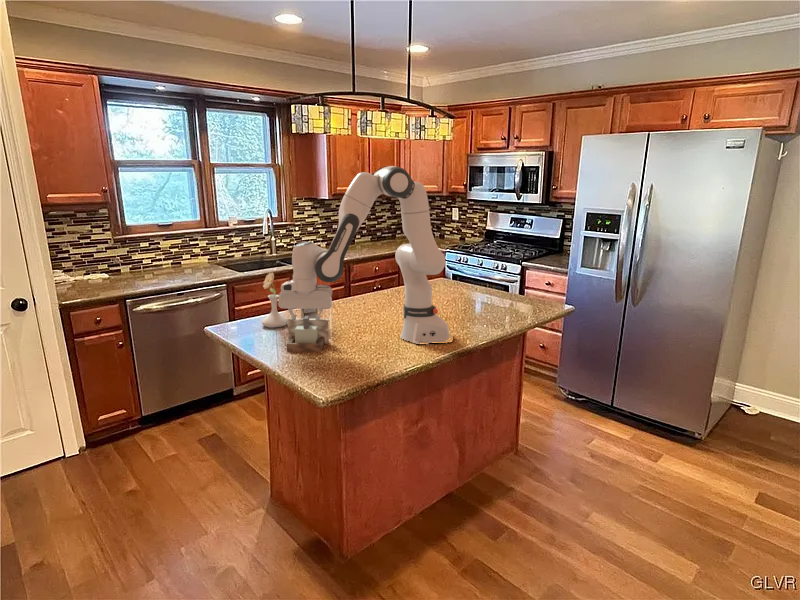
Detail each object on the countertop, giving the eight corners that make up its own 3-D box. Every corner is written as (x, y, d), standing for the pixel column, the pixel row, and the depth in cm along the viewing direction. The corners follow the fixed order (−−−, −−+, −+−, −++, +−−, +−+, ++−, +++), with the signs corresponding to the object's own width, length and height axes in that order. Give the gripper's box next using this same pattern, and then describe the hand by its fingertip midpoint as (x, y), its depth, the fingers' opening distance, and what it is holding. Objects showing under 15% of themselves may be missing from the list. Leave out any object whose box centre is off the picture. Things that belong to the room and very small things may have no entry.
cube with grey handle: (318, 344, 190) (317, 315, 187) (315, 349, 184) (315, 319, 181) (298, 343, 190) (297, 315, 187) (295, 348, 184) (294, 319, 181)
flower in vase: (262, 322, 216) (259, 268, 210) (288, 321, 218) (286, 268, 212) (260, 331, 204) (257, 274, 197) (287, 330, 206) (285, 273, 200)
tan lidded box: (328, 342, 192) (328, 318, 189) (324, 352, 181) (324, 327, 179) (289, 341, 192) (288, 318, 189) (283, 351, 181) (281, 326, 179)
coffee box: (318, 327, 210) (317, 292, 206) (304, 329, 208) (302, 293, 204) (314, 322, 218) (313, 288, 214) (300, 323, 216) (299, 289, 212)
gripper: (333, 283, 184) (333, 317, 187) (280, 282, 184) (282, 316, 187) (330, 287, 178) (331, 322, 181) (276, 286, 178) (278, 321, 181)
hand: (306, 319), depth 184 cm, fingers open, 8 cm apart
